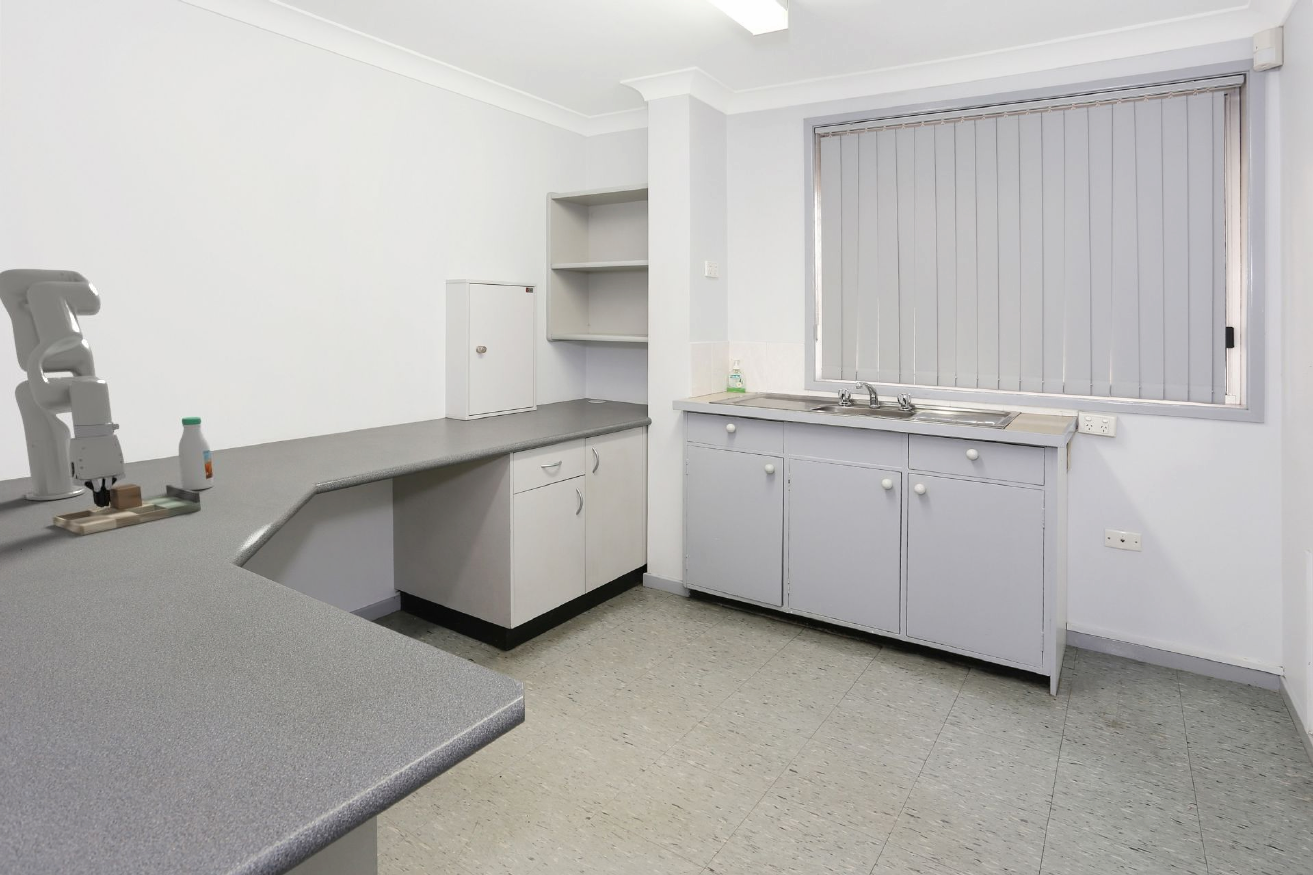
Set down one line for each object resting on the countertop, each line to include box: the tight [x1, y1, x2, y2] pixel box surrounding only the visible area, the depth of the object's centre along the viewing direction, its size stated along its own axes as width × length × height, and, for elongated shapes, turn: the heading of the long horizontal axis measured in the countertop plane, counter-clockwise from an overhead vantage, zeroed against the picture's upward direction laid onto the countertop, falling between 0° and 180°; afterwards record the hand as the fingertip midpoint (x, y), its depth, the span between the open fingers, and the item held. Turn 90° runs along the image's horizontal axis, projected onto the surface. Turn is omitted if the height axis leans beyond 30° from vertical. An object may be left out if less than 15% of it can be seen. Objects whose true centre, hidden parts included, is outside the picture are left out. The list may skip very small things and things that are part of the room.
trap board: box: [52, 484, 202, 536], centre depth 188 cm, size 15×26×4 cm, turn 148°
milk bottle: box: [178, 416, 214, 491], centre depth 217 cm, size 8×8×20 cm
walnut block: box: [109, 483, 142, 510], centre depth 190 cm, size 5×5×5 cm
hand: (102, 506), depth 186 cm, fingers closed
